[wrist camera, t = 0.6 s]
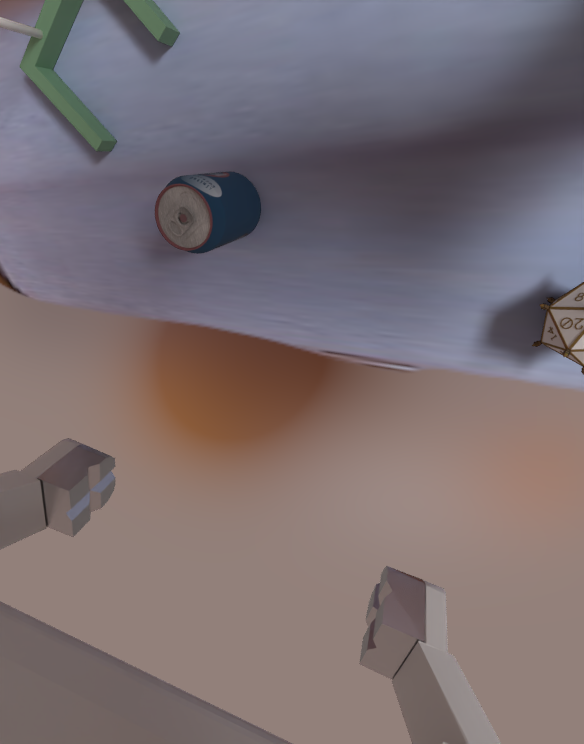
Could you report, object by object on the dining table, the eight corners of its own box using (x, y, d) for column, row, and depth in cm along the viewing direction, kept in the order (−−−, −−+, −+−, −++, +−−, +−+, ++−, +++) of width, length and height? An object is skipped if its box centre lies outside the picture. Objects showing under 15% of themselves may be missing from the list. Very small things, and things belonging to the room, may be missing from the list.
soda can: (236, 156, 46) (177, 157, 36) (277, 208, 47) (232, 223, 37) (198, 201, 49) (135, 213, 39) (237, 248, 50) (186, 272, 40)
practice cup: (95, -69, 40) (-114, -203, 25) (179, 32, 42) (31, -37, 27) (37, 72, 48) (-150, 33, 33) (110, 152, 50) (-36, 151, 35)
